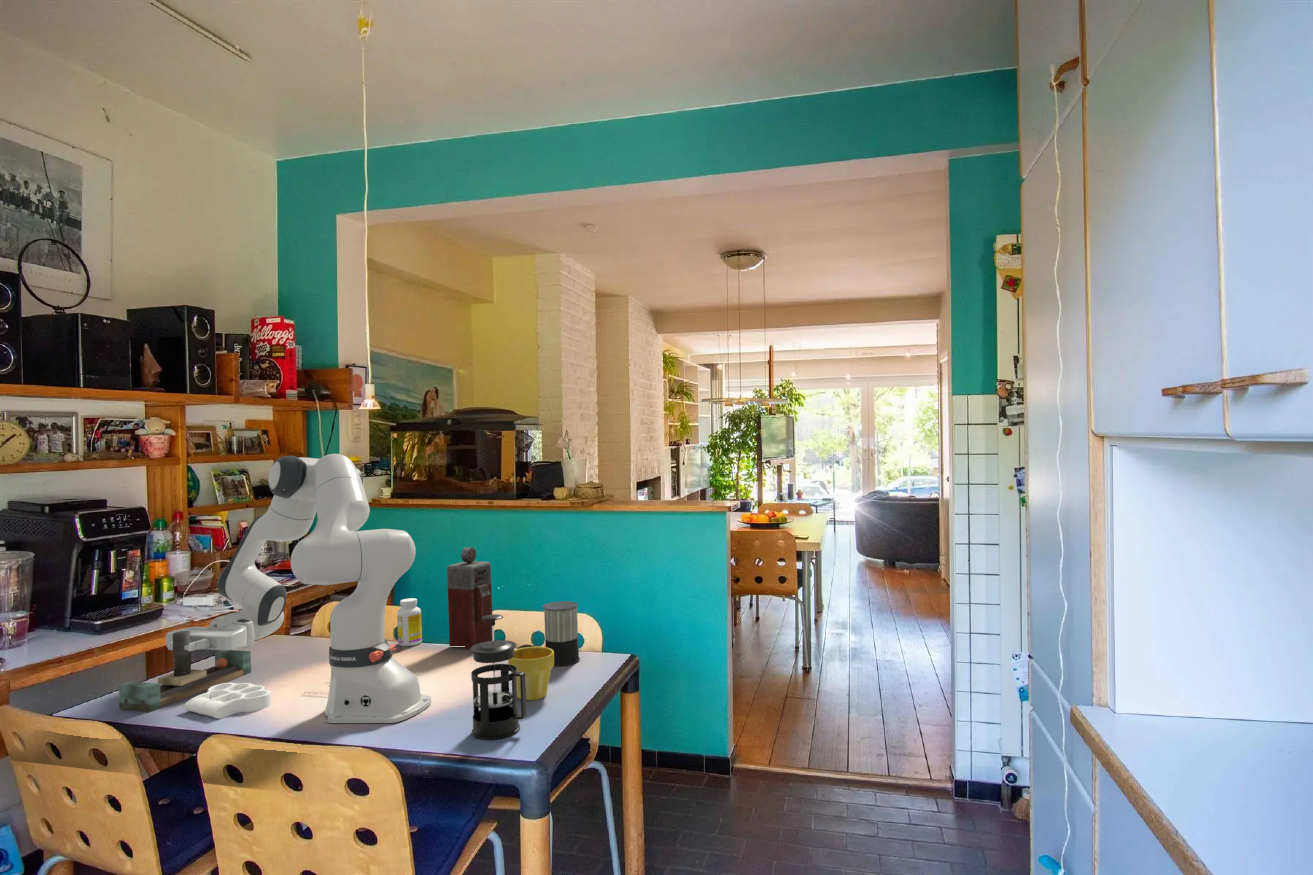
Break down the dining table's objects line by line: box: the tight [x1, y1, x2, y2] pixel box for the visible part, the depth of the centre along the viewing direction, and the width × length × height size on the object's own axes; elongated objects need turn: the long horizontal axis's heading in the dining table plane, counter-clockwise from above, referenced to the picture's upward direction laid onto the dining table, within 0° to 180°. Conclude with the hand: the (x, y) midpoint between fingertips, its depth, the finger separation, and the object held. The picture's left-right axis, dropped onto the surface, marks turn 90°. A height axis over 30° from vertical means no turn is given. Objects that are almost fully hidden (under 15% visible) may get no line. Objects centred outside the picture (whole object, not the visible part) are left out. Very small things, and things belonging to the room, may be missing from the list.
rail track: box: [118, 649, 252, 713], centre depth 177 cm, size 9×28×6 cm, turn 165°
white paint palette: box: [183, 681, 272, 720], centre depth 164 cm, size 3×18×15 cm
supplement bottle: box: [396, 597, 423, 647], centre depth 212 cm, size 7×7×13 cm
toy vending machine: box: [446, 546, 493, 651], centre depth 208 cm, size 9×11×28 cm
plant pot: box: [507, 646, 555, 701], centre depth 164 cm, size 10×10×10 cm
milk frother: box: [516, 600, 581, 667], centre depth 190 cm, size 14×16×15 cm
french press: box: [470, 613, 528, 741], centre depth 145 cm, size 12×9×23 cm
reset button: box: [216, 657, 228, 669], centre depth 186 cm, size 3×1×3 cm, turn 75°
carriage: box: [157, 631, 207, 686], centre depth 175 cm, size 7×7×12 cm
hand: (178, 647), depth 174 cm, fingers closed on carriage, 3 cm apart
